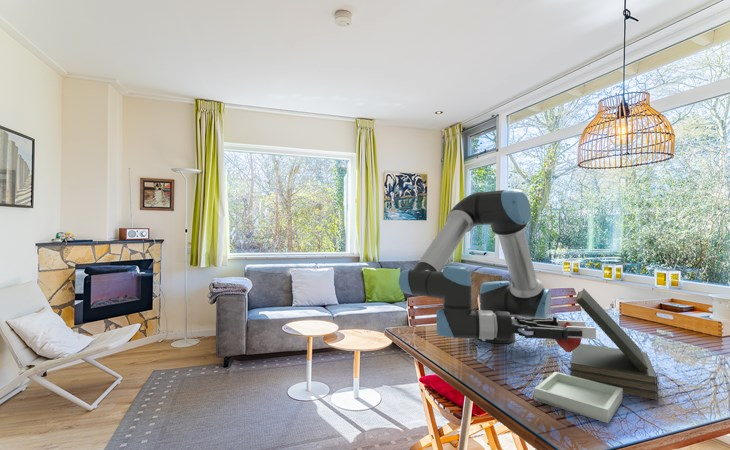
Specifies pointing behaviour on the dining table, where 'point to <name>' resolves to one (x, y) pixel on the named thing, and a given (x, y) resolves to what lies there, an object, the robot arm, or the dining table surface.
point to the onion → (569, 341)
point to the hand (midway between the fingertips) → (589, 329)
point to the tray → (580, 396)
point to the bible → (613, 357)
